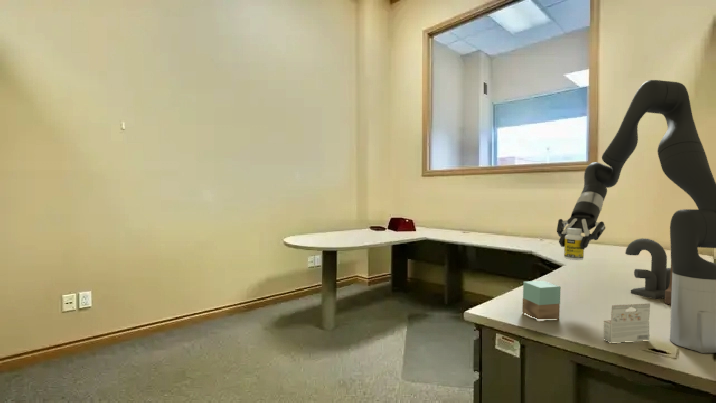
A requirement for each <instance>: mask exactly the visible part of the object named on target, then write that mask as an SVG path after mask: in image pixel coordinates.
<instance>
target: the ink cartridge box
mask: <svg viewBox="0 0 716 403" xmlns="http://www.w3.org/2000/svg"><path fill="white" fill-rule="evenodd" d="M630 308H633V309H635V311H626V310H628V309H630ZM650 309H651V303H636V304H635V303H633V304H617V305H616V304H615V305H612V306H611V312H610V315H611V317H610V319H611V320H603V340H604V339H605V340H607V341H609V342H625V341H643V340H649V341H650V311H651V310H650Z"/></svg>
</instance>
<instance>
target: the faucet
mask: <svg viewBox="0 0 716 403" xmlns="http://www.w3.org/2000/svg"><path fill="white" fill-rule="evenodd" d="M642 251H647V252H648V253H649V254H650V257H651V261H650V262H651V266H650V268H651V269H644V268H643V269H642V268H634V271H633V275H634V277H635V278H636V279H644V286H642V287H635V288H633V289H631V290H630V294H633V295H637V296H641V297H645V298H649V299H654V300H659V299H665V291H666V290H667V289H668V287H669V284H670V275H671V267H667V265H668V256H667V254H666V250H665V249H664V247H663V246H662V245H661V244H660V243H659V242H657V241H655V240H653V239H651V238H643V237H642V238H637V239H635V240H632V241H631V242H630V243H628V245H627V247H626V249H625V252H624V253H625V255H626V256H640V253H641V252H642Z"/></svg>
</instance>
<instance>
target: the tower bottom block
mask: <svg viewBox="0 0 716 403" xmlns="http://www.w3.org/2000/svg"><path fill="white" fill-rule="evenodd" d="M560 306H561V303H560V304H548V305H538V304H536V303H533V302H531V301H529V300H526V299H524V298H523V297H522V307H521V308H522V311H521V312H523V313H526V314H528V315H530V316H532V317H535V318H537V319H559V320H560V312H561V311H560Z"/></svg>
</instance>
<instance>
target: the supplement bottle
mask: <svg viewBox="0 0 716 403" xmlns="http://www.w3.org/2000/svg"><path fill="white" fill-rule="evenodd" d="M567 233H568V235H566V236H565V245H564V247H563V250H564V251H563V258H565V260H569V261H570V260H572V261H583V260H584V252H585V251H584V250H585V249H581V247H580V243H581V241H582V239H583V235H582V234H583V233H582V229H579V228H568V229H567Z"/></svg>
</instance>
